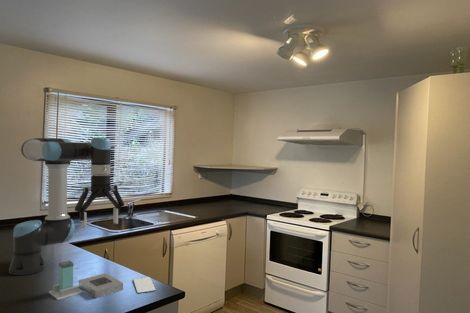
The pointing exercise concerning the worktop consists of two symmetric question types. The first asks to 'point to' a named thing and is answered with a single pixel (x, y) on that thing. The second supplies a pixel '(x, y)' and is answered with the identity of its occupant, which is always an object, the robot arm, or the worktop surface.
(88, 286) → the port panel
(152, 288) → the smartphone
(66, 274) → the plug
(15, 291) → the worktop surface
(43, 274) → the worktop surface
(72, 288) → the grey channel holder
